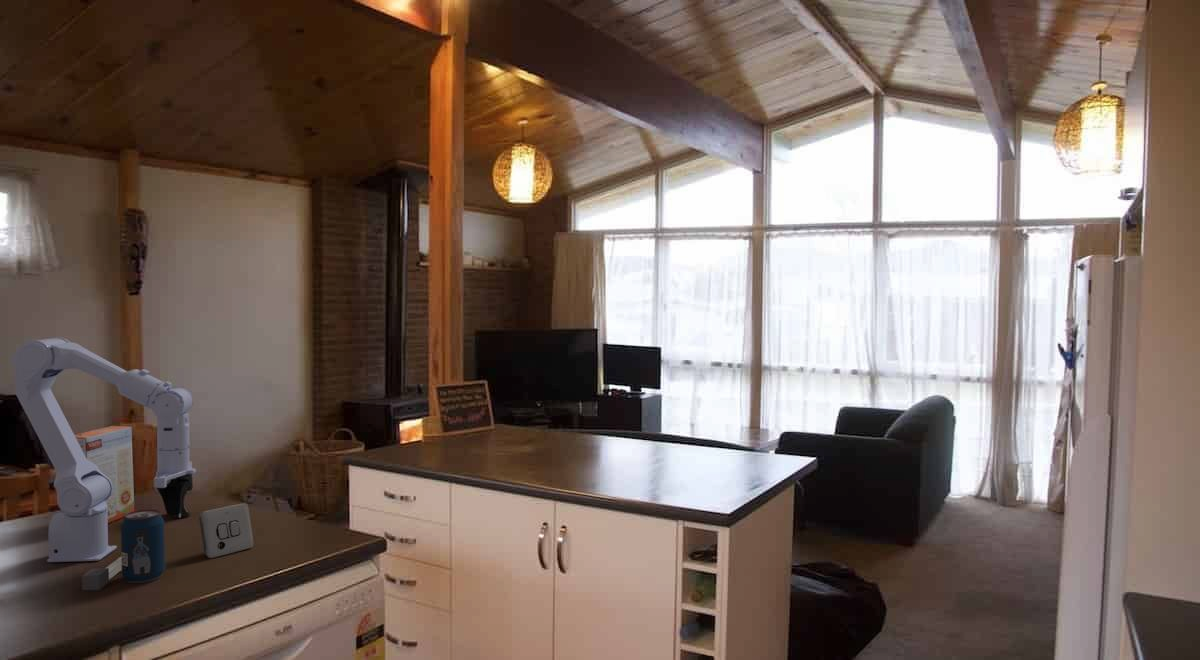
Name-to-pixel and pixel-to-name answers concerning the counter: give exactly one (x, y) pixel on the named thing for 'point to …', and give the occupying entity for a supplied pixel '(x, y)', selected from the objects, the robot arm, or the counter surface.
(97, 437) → the cracker box
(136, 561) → the soda can
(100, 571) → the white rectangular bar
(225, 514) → the electrical switch
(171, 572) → the counter surface
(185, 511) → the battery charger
